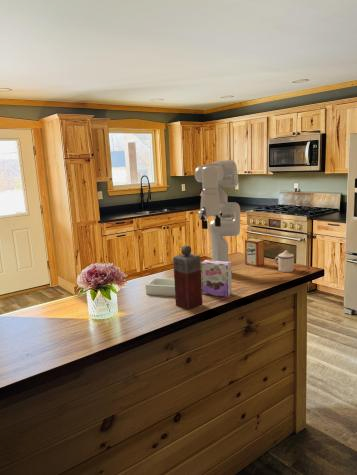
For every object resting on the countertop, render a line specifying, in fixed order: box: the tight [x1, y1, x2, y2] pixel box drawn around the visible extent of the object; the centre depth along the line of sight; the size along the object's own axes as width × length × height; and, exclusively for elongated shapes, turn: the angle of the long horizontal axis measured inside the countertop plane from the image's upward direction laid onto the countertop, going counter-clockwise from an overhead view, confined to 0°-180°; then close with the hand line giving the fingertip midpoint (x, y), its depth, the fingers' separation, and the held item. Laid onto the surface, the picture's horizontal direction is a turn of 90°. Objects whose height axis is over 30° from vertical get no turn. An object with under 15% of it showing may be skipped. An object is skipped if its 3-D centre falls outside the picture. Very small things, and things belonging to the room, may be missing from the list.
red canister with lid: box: [172, 244, 203, 311], centre depth 172 cm, size 9×11×28 cm
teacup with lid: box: [274, 250, 295, 273], centre depth 220 cm, size 12×9×12 cm
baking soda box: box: [244, 237, 265, 268], centre depth 234 cm, size 10×6×16 cm
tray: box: [145, 277, 175, 297], centre depth 194 cm, size 12×20×5 cm, turn 71°
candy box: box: [201, 259, 233, 298], centre depth 185 cm, size 14×6×16 cm, turn 62°
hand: (211, 227), depth 185 cm, fingers open, 9 cm apart
